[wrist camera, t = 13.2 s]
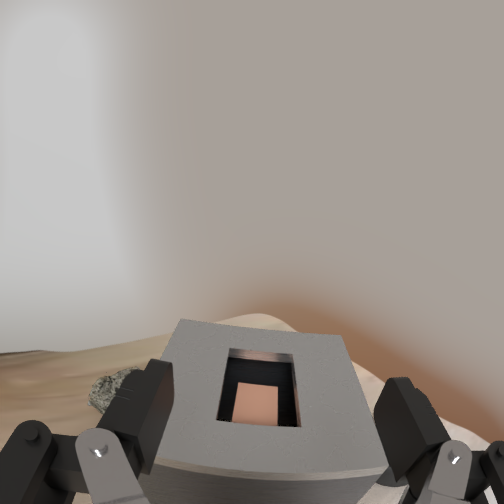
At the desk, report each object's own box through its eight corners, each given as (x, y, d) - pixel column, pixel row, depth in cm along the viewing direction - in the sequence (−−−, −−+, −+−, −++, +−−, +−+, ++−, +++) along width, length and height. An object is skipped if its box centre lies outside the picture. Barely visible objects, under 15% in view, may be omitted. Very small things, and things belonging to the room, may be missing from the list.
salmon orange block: (260, 491, 21) (277, 437, 18) (224, 487, 21) (229, 432, 19) (263, 447, 27) (277, 386, 24) (231, 444, 27) (238, 382, 24)
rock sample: (151, 442, 22) (114, 361, 25) (106, 452, 23) (75, 382, 26) (201, 415, 32) (171, 353, 34) (158, 430, 33) (131, 373, 36)
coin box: (150, 516, 16) (118, 445, 13) (183, 407, 32) (180, 318, 28) (328, 530, 16) (388, 465, 13) (312, 419, 32) (340, 335, 28)
